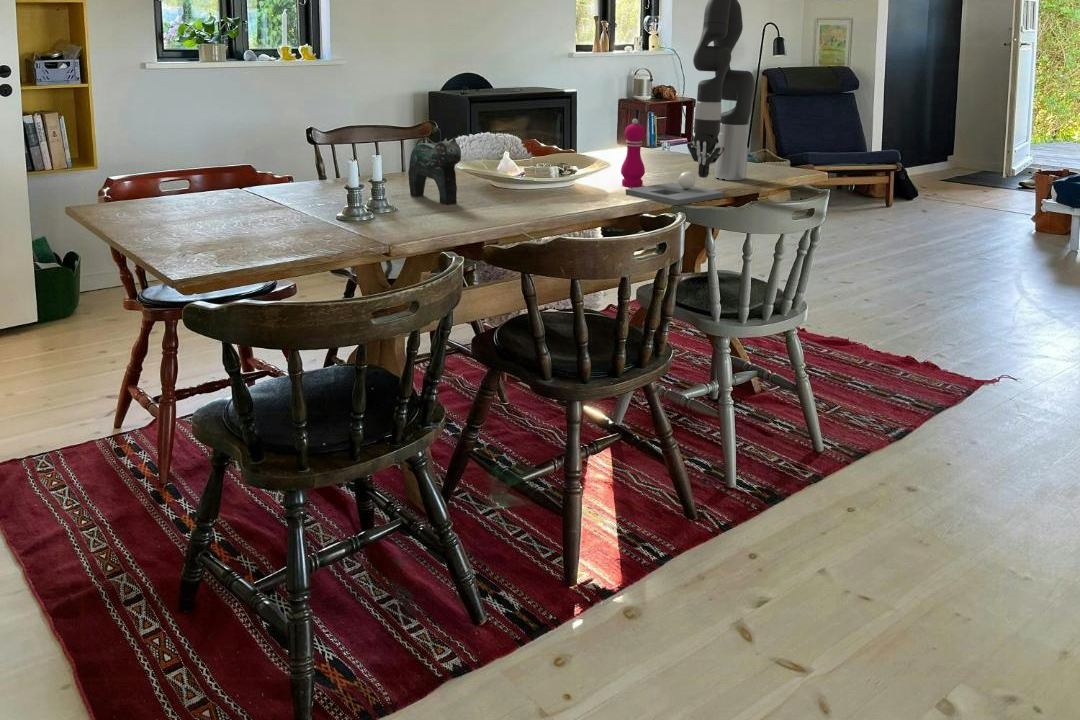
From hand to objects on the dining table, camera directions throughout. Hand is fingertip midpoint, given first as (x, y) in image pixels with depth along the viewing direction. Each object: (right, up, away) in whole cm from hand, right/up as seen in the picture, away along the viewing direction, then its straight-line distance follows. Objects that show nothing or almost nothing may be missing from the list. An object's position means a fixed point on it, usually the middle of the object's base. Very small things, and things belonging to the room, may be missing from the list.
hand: (703, 177), depth 313 cm
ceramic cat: (-78, -10, -19) cm, 81 cm away
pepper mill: (-20, -1, +8) cm, 22 cm away
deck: (-9, -7, -7) cm, 13 cm away
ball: (-6, -2, -5) cm, 7 cm away
